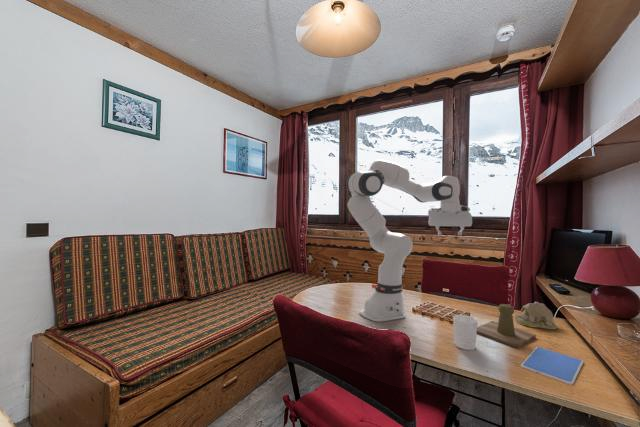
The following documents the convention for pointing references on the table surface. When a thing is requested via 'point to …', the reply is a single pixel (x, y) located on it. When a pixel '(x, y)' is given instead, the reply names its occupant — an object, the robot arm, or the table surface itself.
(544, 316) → the ceramic model
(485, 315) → the table surface
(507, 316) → the olive green waisted column
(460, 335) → the white cup
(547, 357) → the tablet computer
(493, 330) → the walnut board
